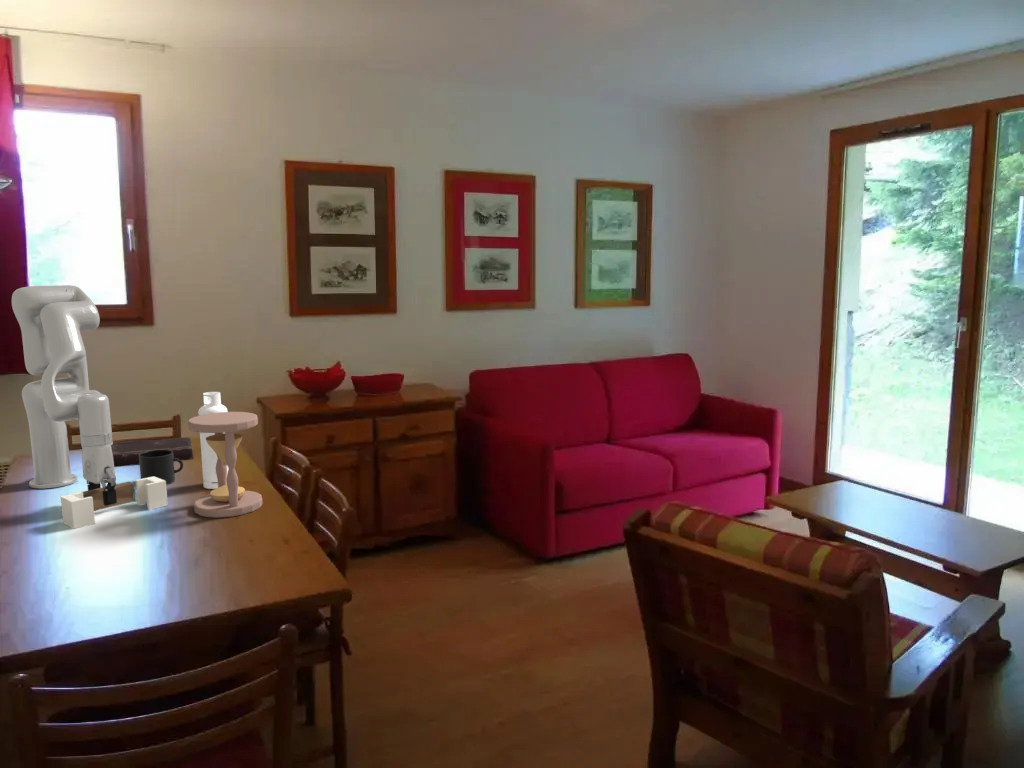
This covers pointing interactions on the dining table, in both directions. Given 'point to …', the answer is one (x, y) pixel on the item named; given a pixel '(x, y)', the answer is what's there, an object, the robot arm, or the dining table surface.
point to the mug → (159, 465)
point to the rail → (123, 495)
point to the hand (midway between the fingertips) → (102, 500)
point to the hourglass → (225, 464)
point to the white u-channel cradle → (82, 510)
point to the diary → (150, 449)
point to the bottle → (206, 451)
